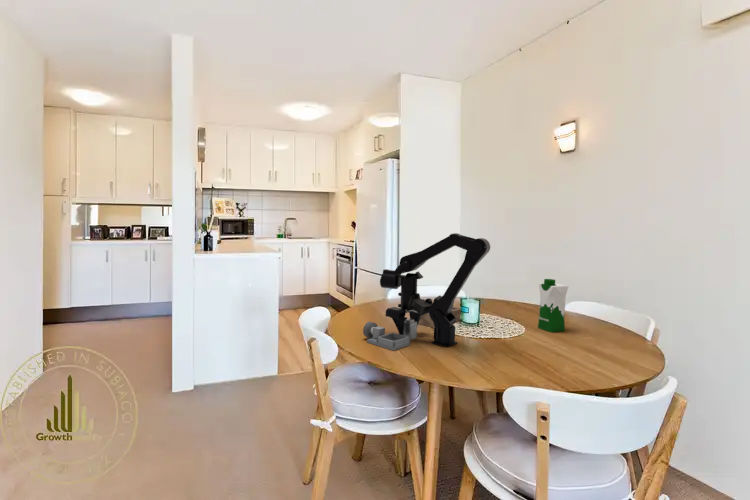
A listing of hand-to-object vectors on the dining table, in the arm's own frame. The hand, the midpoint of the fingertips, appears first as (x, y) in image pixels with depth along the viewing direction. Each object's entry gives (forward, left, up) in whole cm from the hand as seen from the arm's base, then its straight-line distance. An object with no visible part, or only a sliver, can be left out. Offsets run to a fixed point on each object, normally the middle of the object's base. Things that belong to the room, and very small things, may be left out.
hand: (407, 333), depth 144 cm
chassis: (0, +10, -2) cm, 11 cm away
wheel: (+8, +10, -2) cm, 14 cm away
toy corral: (+7, -28, -2) cm, 29 cm away
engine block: (0, 0, -2) cm, 2 cm away
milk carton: (-32, -51, -2) cm, 60 cm away
